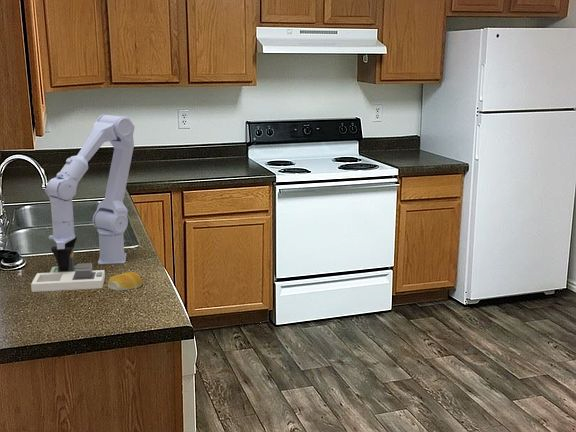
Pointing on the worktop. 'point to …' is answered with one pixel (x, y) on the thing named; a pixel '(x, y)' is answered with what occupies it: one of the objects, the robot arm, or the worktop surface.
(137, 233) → the worktop surface
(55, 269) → the tray
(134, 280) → the bread roll
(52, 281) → the strip
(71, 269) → the plug
